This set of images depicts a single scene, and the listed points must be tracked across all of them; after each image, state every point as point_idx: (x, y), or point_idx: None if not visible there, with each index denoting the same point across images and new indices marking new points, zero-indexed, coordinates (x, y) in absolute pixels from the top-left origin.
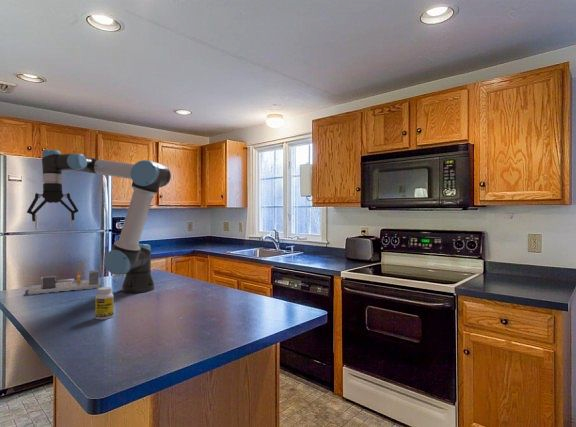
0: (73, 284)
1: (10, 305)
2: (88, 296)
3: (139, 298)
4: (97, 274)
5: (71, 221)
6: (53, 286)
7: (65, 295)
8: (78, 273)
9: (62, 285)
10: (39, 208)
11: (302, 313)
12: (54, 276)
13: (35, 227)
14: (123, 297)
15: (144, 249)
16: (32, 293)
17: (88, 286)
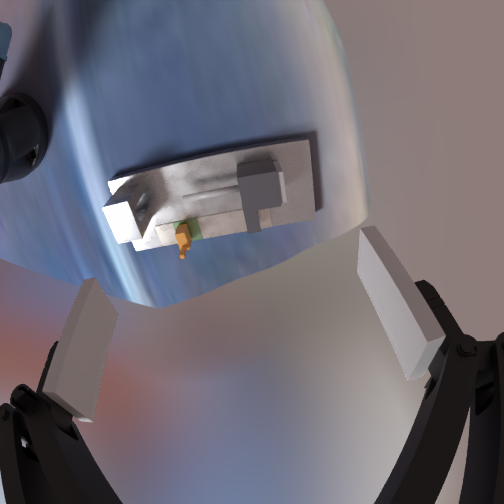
0: None
1: (321, 20)
2: (117, 65)
3: None
4: (107, 203)
5: (67, 319)
6: (241, 165)
7: (190, 94)
8: (183, 250)
9: None
10: (429, 433)
11: None
12: (243, 192)
13: (378, 232)
14: (32, 45)
15: None
16: (296, 138)
17: (140, 171)
